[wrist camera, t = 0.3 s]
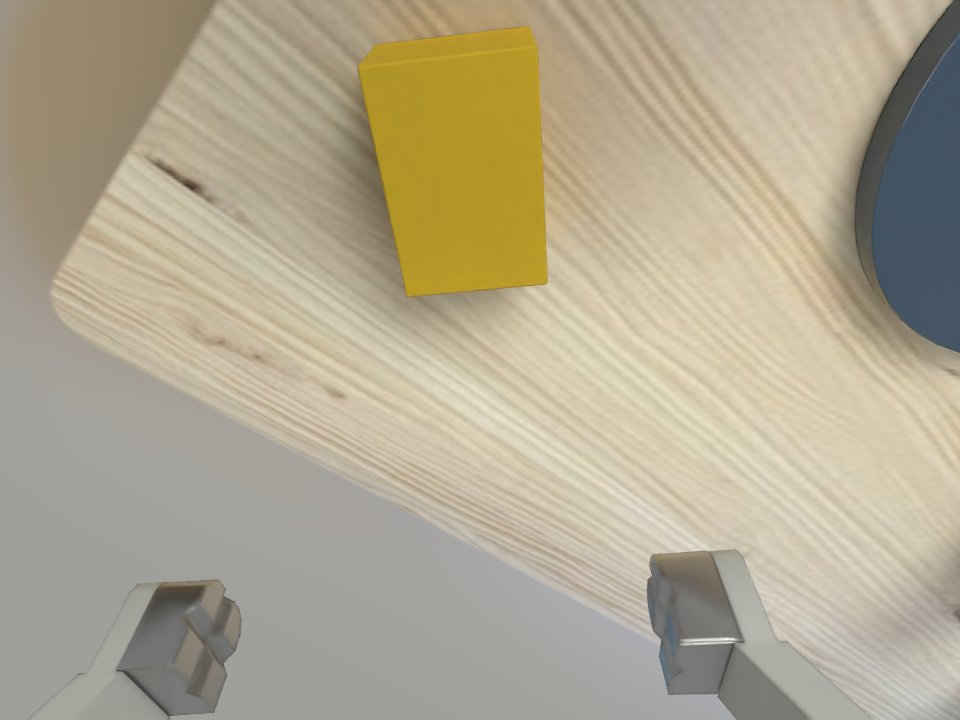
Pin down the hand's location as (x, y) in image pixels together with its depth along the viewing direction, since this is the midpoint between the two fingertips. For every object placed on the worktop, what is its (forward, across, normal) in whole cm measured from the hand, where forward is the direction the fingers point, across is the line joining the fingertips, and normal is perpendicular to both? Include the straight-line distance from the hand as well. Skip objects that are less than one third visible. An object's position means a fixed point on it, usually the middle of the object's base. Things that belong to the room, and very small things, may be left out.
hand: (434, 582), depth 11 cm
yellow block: (+19, 0, -2) cm, 19 cm away
